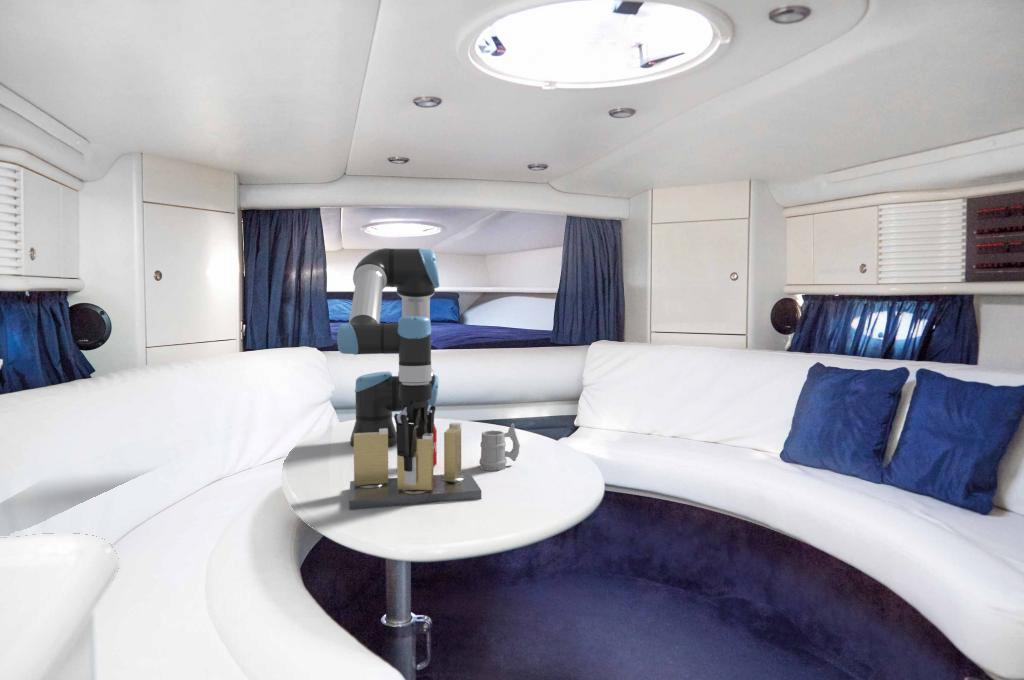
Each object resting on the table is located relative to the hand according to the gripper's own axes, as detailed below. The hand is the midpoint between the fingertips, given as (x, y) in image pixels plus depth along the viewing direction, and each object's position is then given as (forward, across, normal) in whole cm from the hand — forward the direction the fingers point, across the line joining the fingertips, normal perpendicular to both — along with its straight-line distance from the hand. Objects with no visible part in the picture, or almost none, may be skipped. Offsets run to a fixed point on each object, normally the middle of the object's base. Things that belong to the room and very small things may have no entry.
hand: (416, 481), depth 136 cm
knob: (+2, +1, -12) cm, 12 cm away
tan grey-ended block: (+2, 0, 0) cm, 2 cm away
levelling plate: (+4, -2, -2) cm, 5 cm away
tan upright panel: (+2, -12, +3) cm, 12 cm away
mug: (+5, -33, +5) cm, 34 cm away
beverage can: (+5, -23, -13) cm, 27 cm away
